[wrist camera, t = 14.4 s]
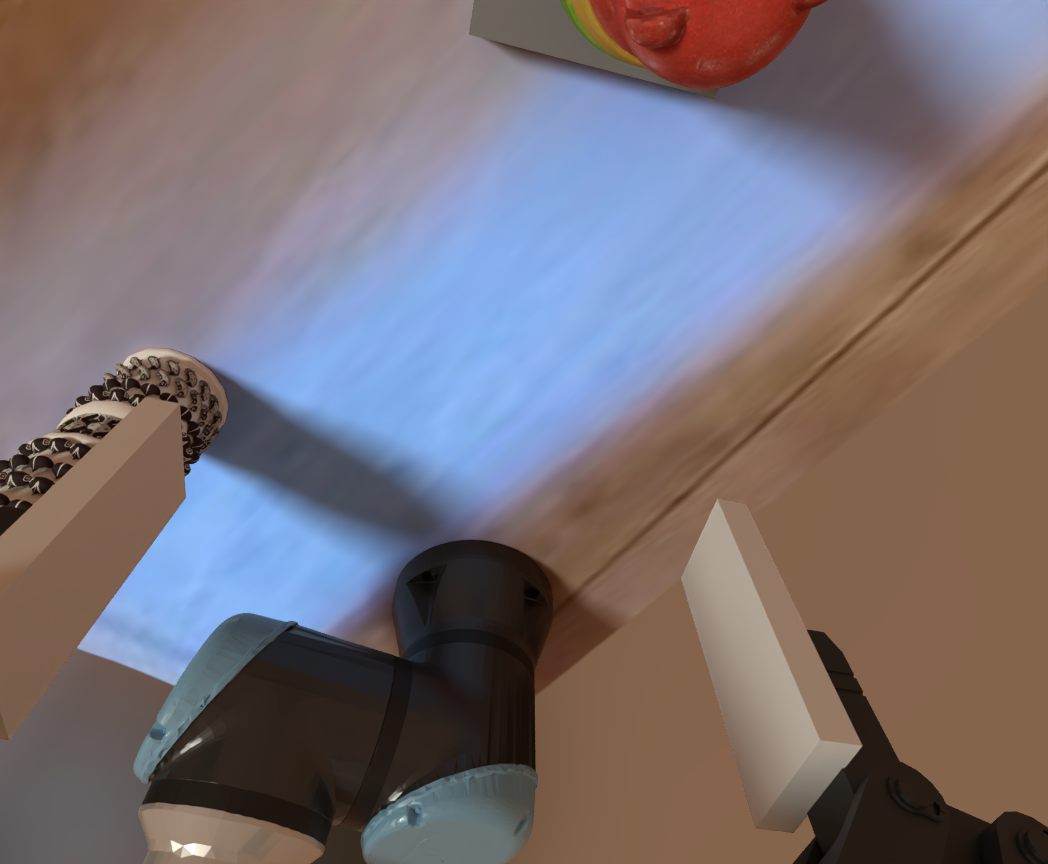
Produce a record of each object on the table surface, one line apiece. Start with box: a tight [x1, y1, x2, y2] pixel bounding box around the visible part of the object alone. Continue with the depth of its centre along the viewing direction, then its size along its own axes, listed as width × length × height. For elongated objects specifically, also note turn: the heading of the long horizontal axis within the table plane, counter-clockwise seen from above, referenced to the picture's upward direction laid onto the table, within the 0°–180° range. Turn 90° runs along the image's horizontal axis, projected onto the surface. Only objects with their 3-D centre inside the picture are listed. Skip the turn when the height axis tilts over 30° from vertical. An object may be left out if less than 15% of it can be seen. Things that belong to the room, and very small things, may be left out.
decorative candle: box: [0, 348, 229, 509], centre depth 41 cm, size 9×9×25 cm
